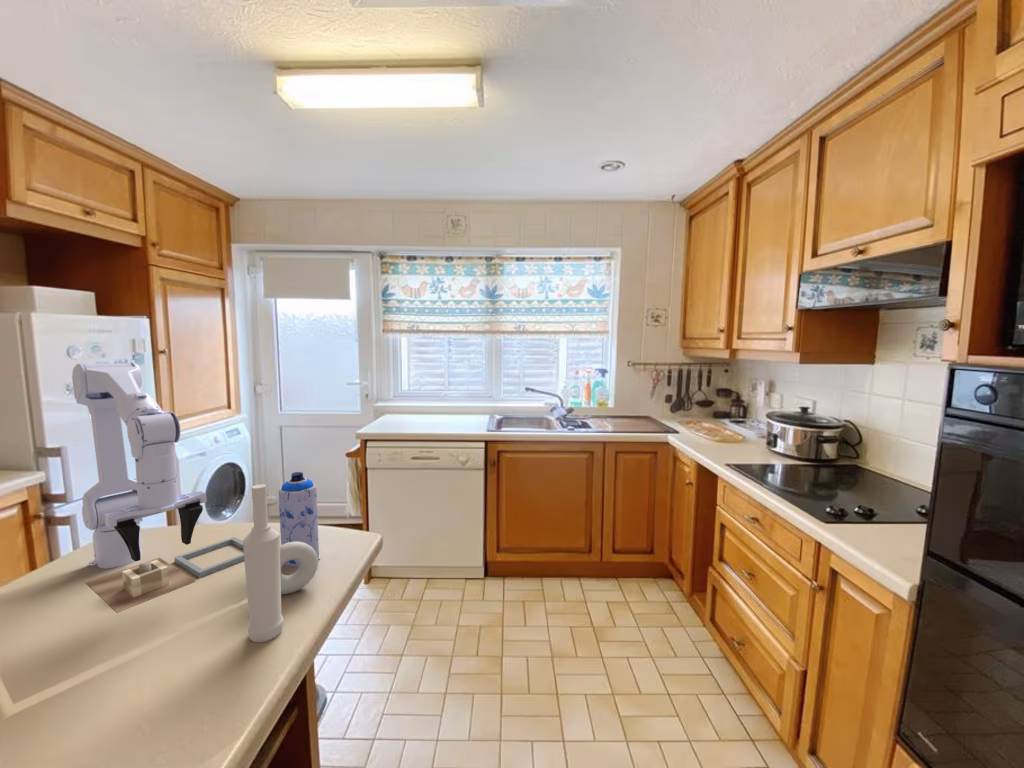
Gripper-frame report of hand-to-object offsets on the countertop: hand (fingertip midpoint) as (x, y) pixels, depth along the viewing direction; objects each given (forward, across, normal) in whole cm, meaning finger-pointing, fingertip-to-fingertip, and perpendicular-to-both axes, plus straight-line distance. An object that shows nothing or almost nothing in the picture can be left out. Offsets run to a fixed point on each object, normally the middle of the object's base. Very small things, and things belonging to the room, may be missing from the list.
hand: (162, 550), depth 80 cm
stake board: (+10, -1, +10) cm, 14 cm away
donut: (+10, +14, -17) cm, 24 cm away
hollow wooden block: (+9, -1, +7) cm, 11 cm away
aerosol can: (+10, +22, -7) cm, 25 cm away
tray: (+10, +12, +8) cm, 17 cm away
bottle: (+10, +5, -25) cm, 28 cm away
